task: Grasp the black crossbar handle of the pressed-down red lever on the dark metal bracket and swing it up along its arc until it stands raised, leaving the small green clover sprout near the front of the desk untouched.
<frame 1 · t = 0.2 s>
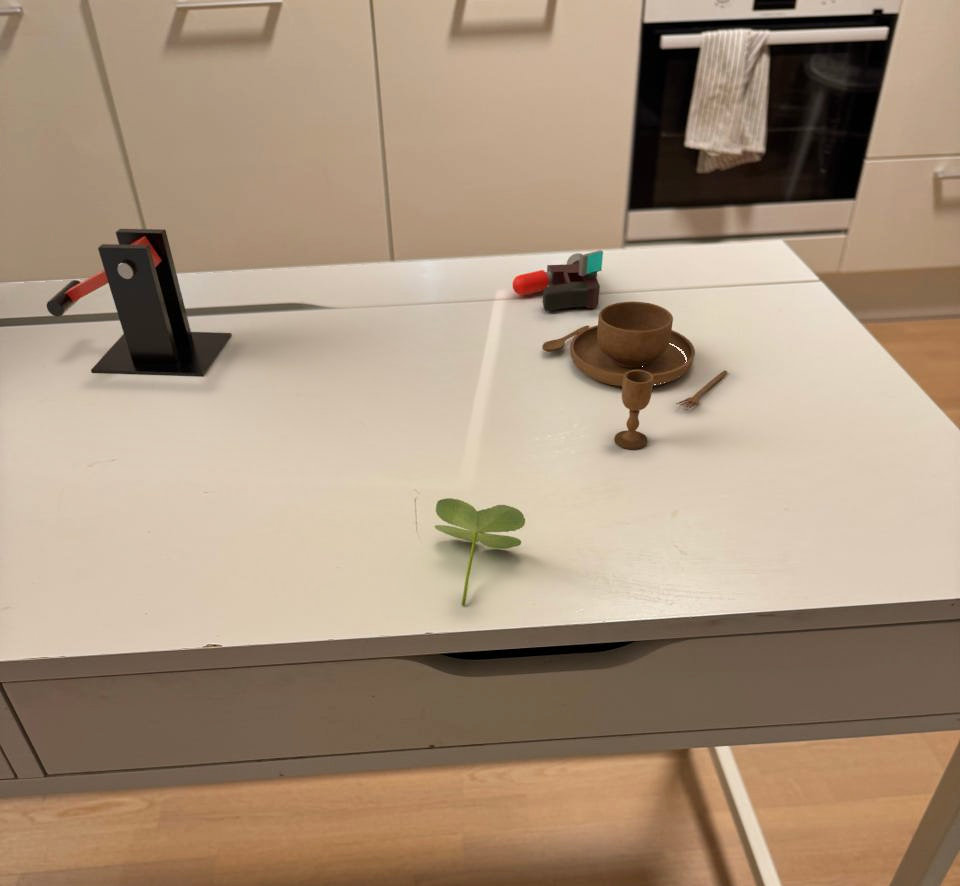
toy gun: (554, 294, 98), on the table
place setting: (611, 383, 82), on the table
green clover sprout: (464, 568, 62), on the table
lever: (103, 277, 81), point 8 cm above the table, hinge at -25.0°
bracket: (166, 362, 86), on the table
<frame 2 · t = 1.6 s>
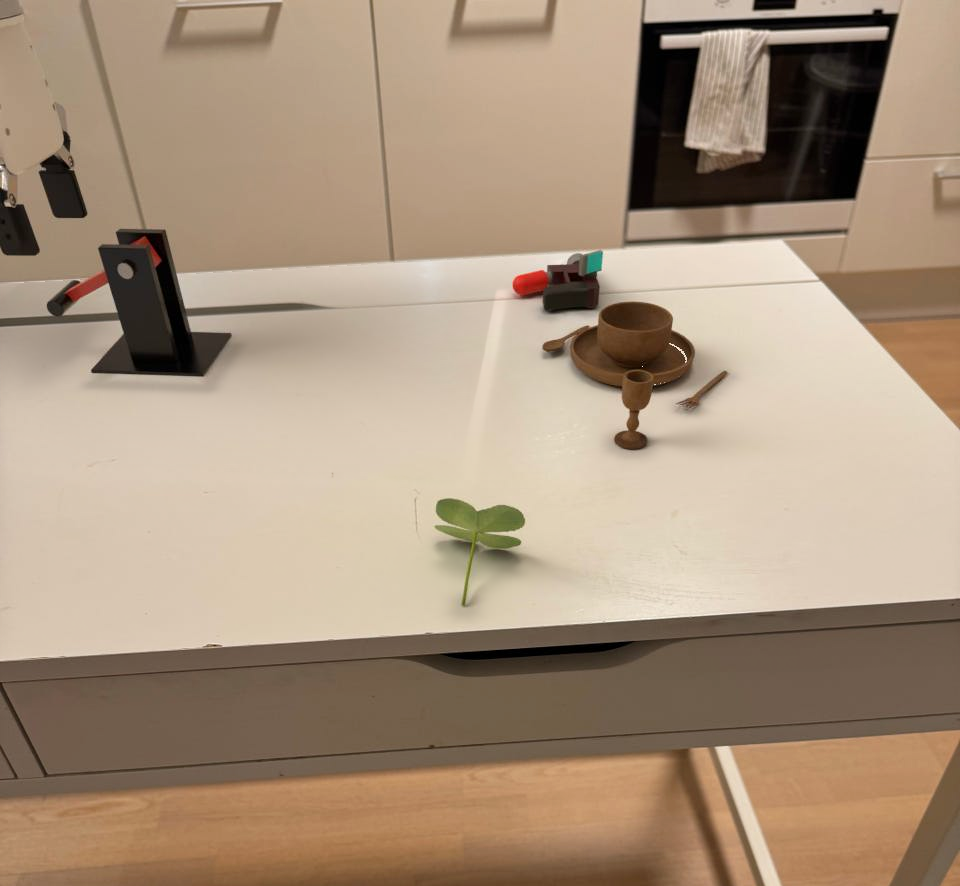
hand: (47, 234, 78), 12 cm above the table, tool pointing down, fingers open, 9 cm apart
nothing on the table moved.
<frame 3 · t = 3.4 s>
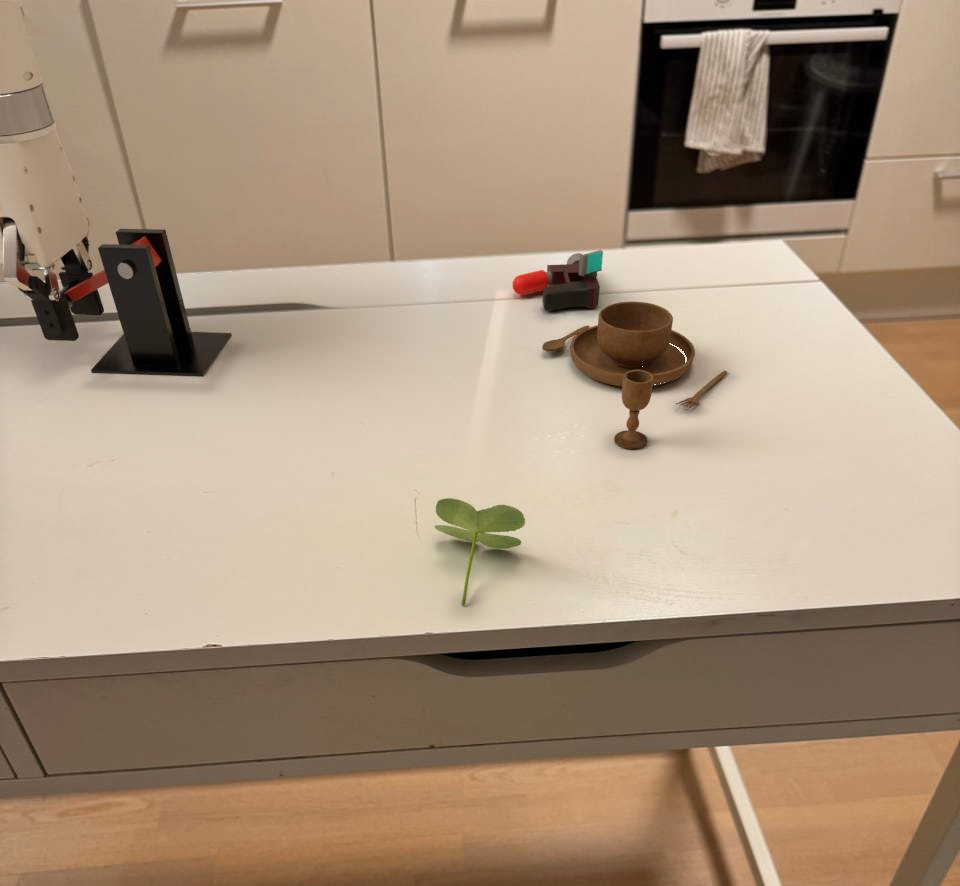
hand: (75, 324, 84), 4 cm above the table, tool pointing down, fingers closed on lever, 5 cm apart
lever: (103, 277, 81), point 8 cm above the table, hinge at -25.0°, touching gripper
everything else where it was.
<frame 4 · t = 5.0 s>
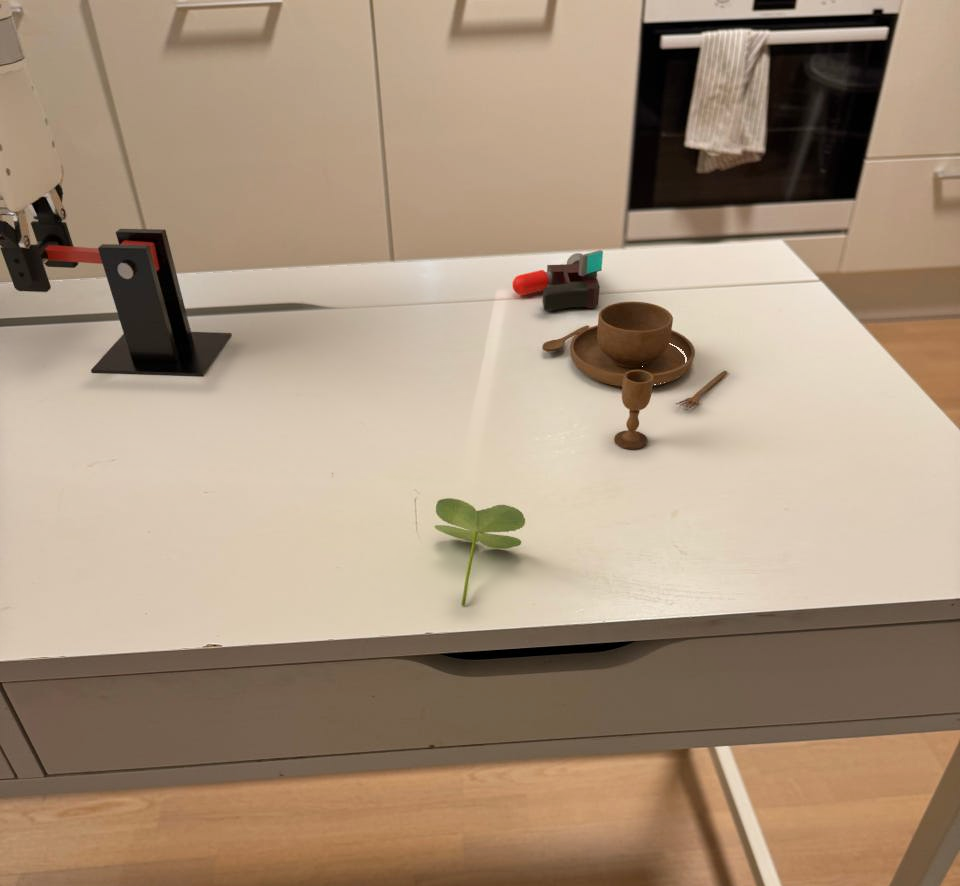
hand: (47, 276, 81), 8 cm above the table, tool pointing down, fingers closed on lever, 5 cm apart
lever: (93, 255, 79), point 10 cm above the table, hinge at 2.8°, touching gripper
everything else where it was.
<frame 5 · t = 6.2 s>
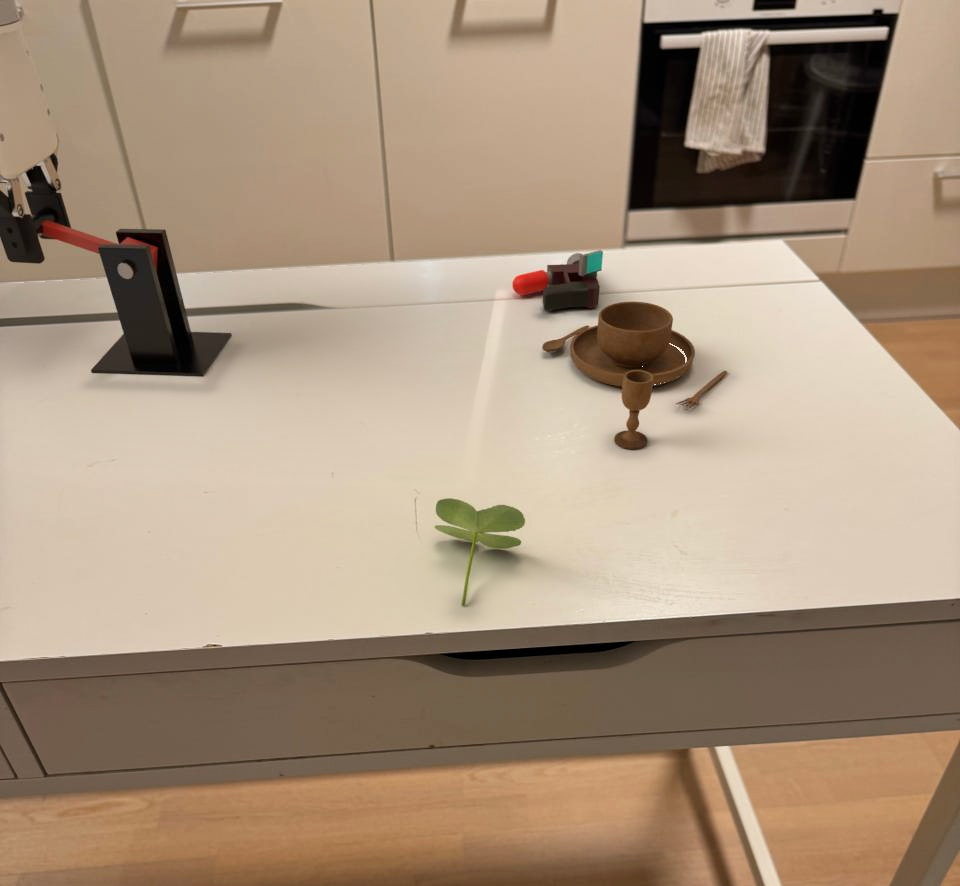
hand: (41, 247, 79), 11 cm above the table, tool pointing down, fingers closed on lever, 5 cm apart
lever: (91, 243, 79), point 11 cm above the table, hinge at 18.1°, touching gripper
everything else where it was.
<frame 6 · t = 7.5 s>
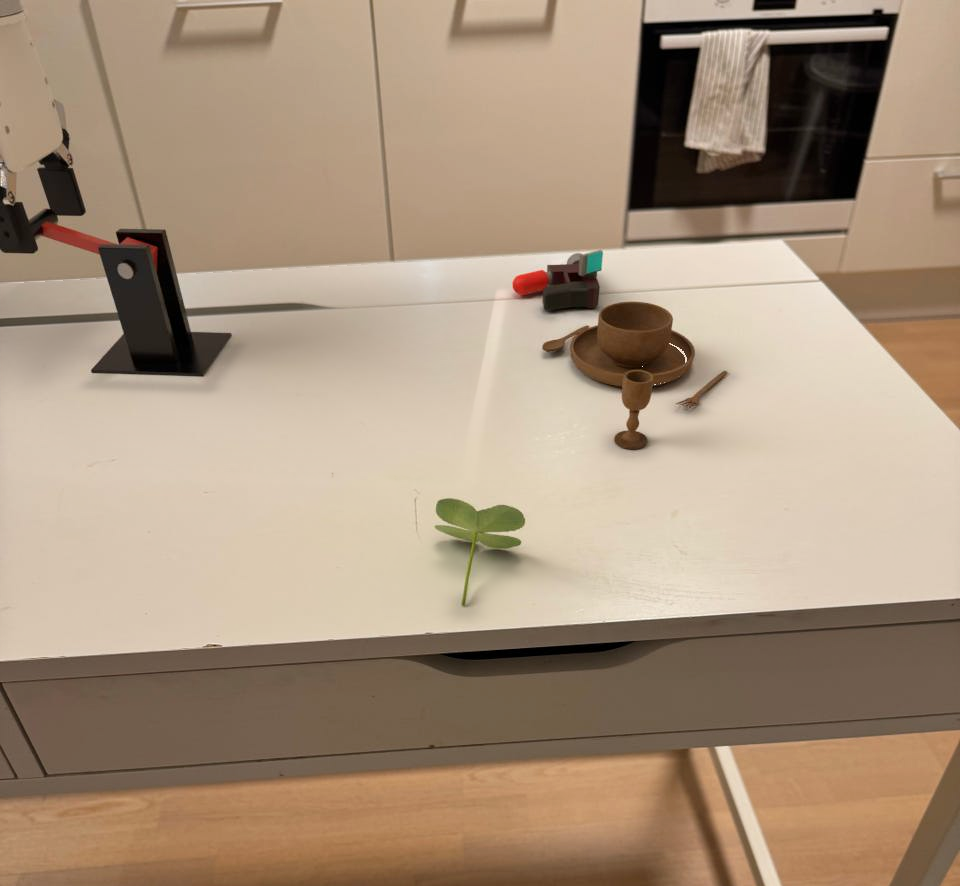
hand: (46, 232, 78), 12 cm above the table, tool pointing down, fingers open, 9 cm apart
lever: (91, 243, 79), point 11 cm above the table, hinge at 17.2°
everything else where it was.
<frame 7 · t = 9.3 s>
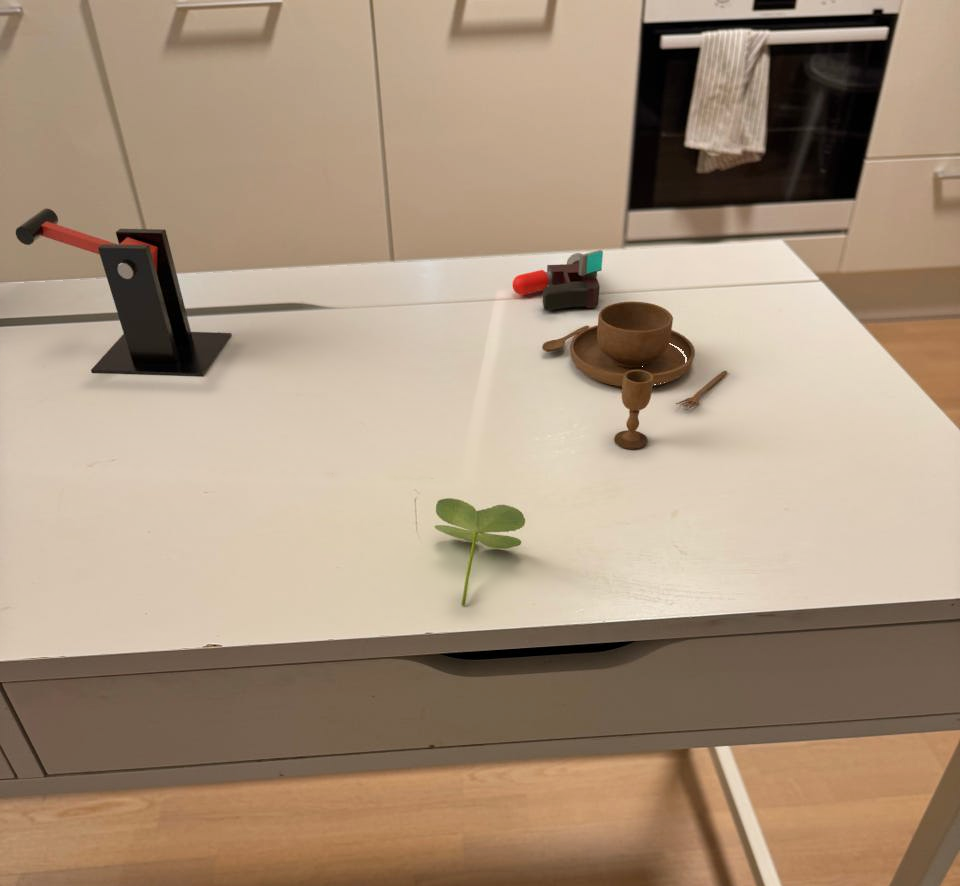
nothing on the table moved.
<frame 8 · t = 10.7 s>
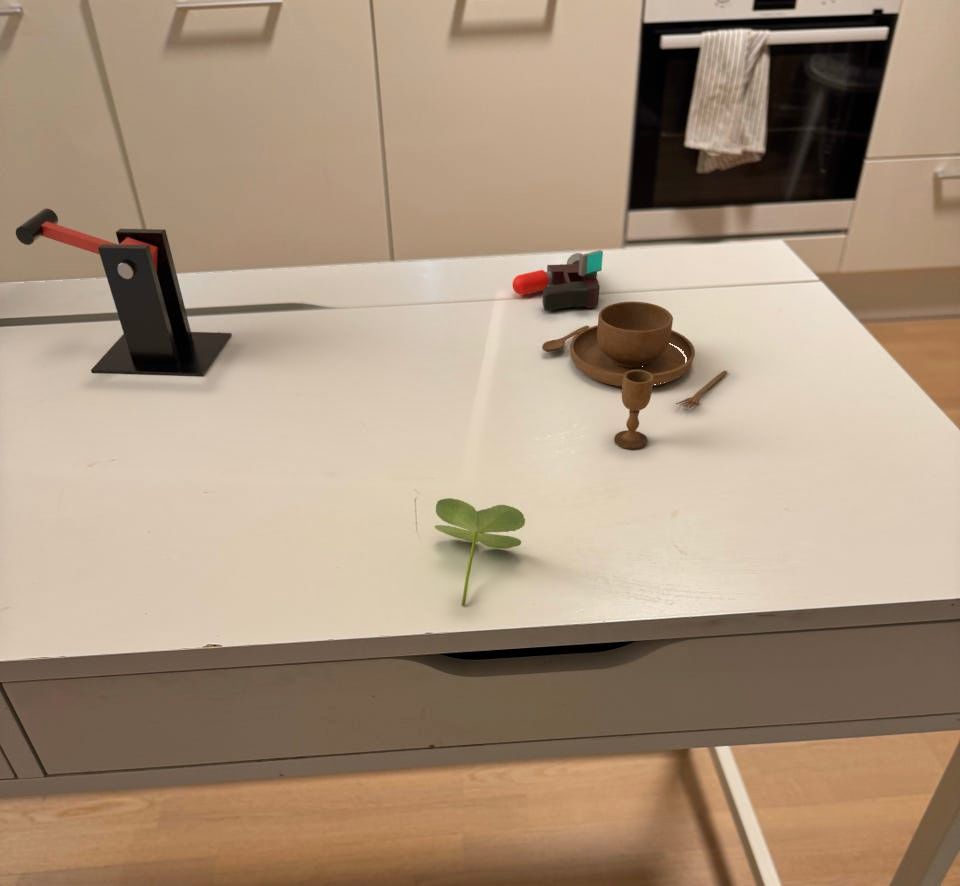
nothing on the table moved.
at the end: lever at +17° (first picture: -25°); green clover sprout moved 0.2 cm from its start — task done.
